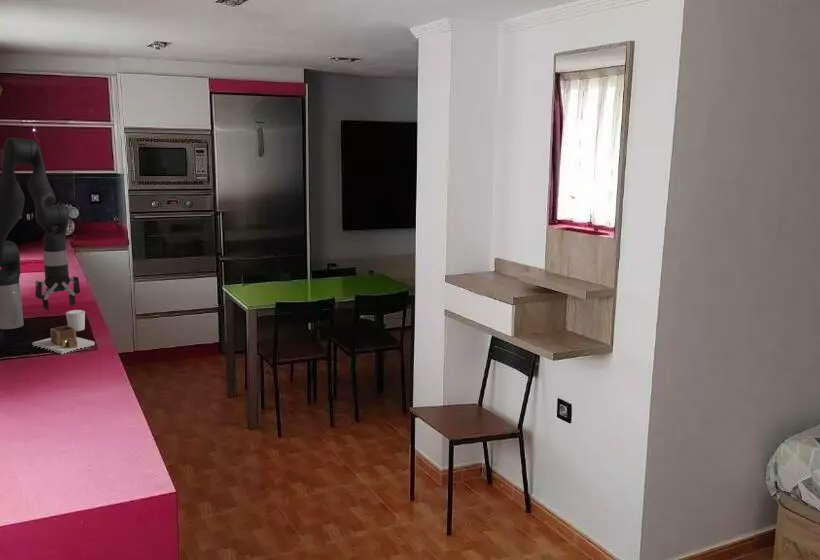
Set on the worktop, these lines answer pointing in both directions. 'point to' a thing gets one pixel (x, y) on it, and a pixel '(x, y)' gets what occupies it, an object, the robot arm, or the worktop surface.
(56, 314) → the worktop surface
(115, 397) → the worktop surface
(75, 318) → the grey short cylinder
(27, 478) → the worktop surface
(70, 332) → the open wooden box
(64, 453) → the worktop surface
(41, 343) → the board
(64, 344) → the dowel
